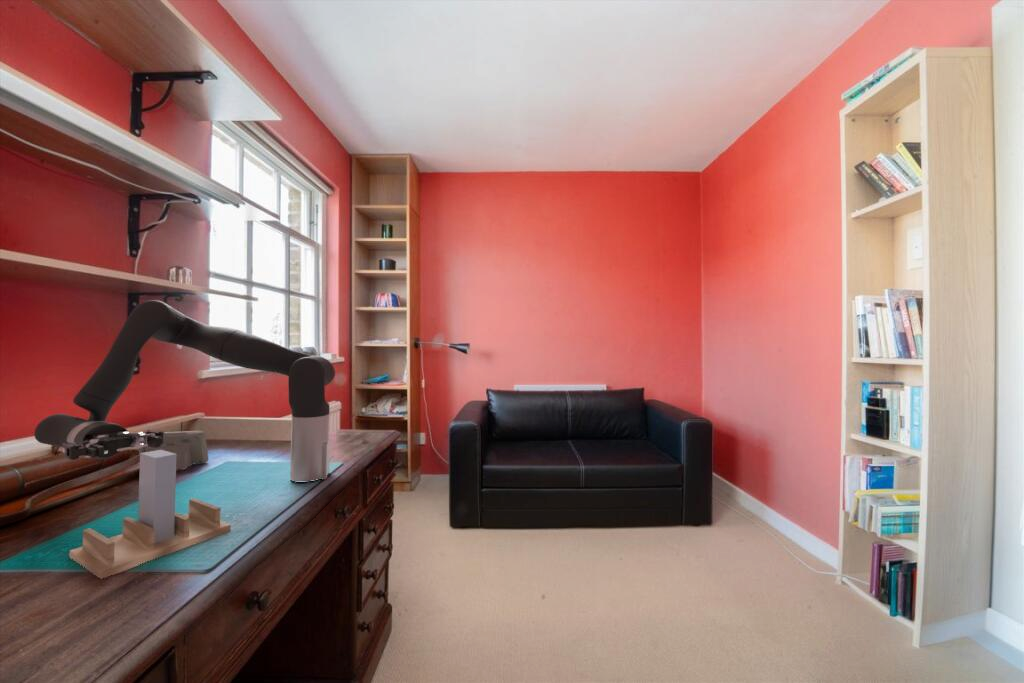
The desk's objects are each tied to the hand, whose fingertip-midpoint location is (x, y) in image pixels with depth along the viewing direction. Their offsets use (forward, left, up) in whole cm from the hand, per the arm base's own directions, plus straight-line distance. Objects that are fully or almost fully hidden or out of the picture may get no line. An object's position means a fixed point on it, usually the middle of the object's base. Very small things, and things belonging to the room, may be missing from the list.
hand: (131, 447), depth 77 cm
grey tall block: (-9, +10, -14) cm, 20 cm away
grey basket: (+11, -41, -16) cm, 45 cm away
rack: (-9, +10, -15) cm, 21 cm away
